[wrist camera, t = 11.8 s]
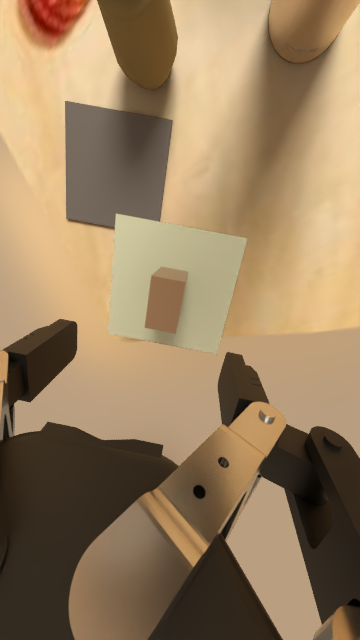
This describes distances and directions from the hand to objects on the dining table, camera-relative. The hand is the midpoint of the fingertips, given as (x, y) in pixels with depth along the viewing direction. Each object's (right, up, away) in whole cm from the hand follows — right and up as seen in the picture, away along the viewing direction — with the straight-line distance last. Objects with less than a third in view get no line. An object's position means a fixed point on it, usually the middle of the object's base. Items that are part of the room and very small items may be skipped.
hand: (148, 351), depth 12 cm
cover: (+1, +5, +15) cm, 16 cm away
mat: (-9, +25, +24) cm, 36 cm away
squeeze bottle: (-2, +37, +20) cm, 42 cm away
